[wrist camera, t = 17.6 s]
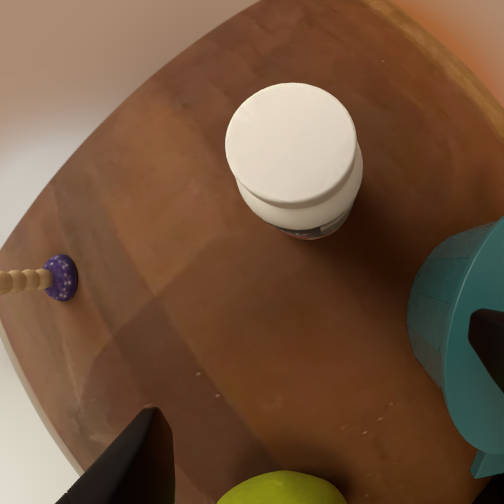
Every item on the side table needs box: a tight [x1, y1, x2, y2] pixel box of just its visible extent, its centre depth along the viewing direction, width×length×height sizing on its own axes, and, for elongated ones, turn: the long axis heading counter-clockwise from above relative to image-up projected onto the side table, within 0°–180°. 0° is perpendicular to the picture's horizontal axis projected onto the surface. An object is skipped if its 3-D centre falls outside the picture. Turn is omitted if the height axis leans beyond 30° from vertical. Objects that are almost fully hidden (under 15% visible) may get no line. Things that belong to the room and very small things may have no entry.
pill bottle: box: [225, 83, 363, 240], centre depth 15 cm, size 6×6×10 cm
